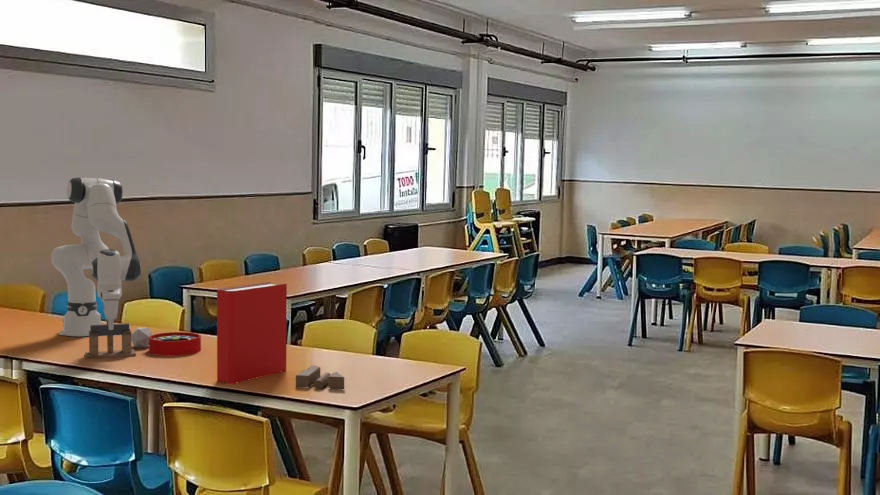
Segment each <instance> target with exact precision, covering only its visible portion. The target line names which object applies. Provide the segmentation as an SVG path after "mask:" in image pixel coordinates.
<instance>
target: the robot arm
mask: <svg viewBox="0 0 880 495" xmlns="http://www.w3.org/2000/svg"><path fill="white" fill-rule="evenodd" d="M123 189H124V188H123V186H122V183H121V182H120V181H118V180H115V179H111V180H110V179H106V178H100V177H73V178H70V180H69V181H68V183H67V187H66V195H67V198H68V200H69V201H71V202H72V203H74V205H73V212H72V219H71V231H72V233H73V234H74V235H75V236H77V237H79V238H80V243H77V244H66V245H60V246H57V247H54V249H52V252H51V254H50V262H51V265H52V266H53V267H54V268H55V269H56V270H57V271H59V273H61V274H62V276H63V277H64V279H65V282H66V285H67V286H66V287H67V299H68V301H66V302H67V303H66V308H67V312H66V313H65V314H64V315H63V317H62V327H63V328H62V329H61V330H60V331H59V333H58V335H59V336H68V337H89V331H90V325H102V323H101V321H102V320H101V316H102V315H101V313H99V312H98V311H97V309H98V304H97V299H96V296H97V298H99V299H100V301H101V302H102V306H103V307H102V310H103V314H104V316H105V319H106V324H108V329H109V330H113V329H114V324H115V320H116V319H117V318H118V313H119V312H118V311H119V300H120V299H121V297H122V295H123V292H122V291H123V290H122V288H123V287H122V284H123V283H122V281H125V282H126V281H127V282H134V281H136V280H137V279H139V277H140V276H141V275H142V264H141V261H140V259H139V256H138V253H137V251H136V248H135V243H134V241H133V240H134V239H133V237H132V233H131V231H130V228H129V224H128V223H127V221H126V220H125V219H123V218H122V217H121V216H120V214H119V212H118V210H117V205H118V204H119V203H121V201H122V199H123V196H124V190H123ZM100 232H103V233H106V234H108V235H112V236H114V237H116V238H118V239H119V240H120V242H121V246H122V249H123V251H124V252H123V253H124V255H122V256H121V254H120V252H119V251H118V250H116V249H112V248H111V249H110V248H109V247H108V246H107V244H105V243H104V242H103V241H102V239H101V235H100ZM84 270H91V277H92V278H94V279H95V280H97V283H96V284H97V287H96V284H95V282H94V281H93V280H92V279H90V278H88V277H86V275H85V272H84ZM96 288H97V292H96ZM96 293H97V295H96Z"/></svg>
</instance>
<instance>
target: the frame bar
mask: <svg viewBox="0 0 880 495" xmlns="http://www.w3.org/2000/svg"><path fill="white" fill-rule="evenodd" d="M129 329H130V324H129V322H126V323H125V322H124V323H123V322H122V323H114V329H113V330H109V329H108V324H107V323H104V324H103V323H101V325H90V333H98V337H107V336H110V335H113V336H122V335H123V331H129Z"/></svg>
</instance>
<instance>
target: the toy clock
mask: <svg viewBox="0 0 880 495" xmlns="http://www.w3.org/2000/svg"><path fill="white" fill-rule="evenodd" d="M201 350H202V335H201V334H199V333H195V332H189V331H187V332H186V331H185V332H183V331H173V332H172V331H171V332H169V331H168V332H160V333H156V334H152V336H150V337H149V345H148V352H149V354H152V355H155V354H156V356H166V355H175V356H186V354H187V355H193V354H196V353H198V352H201Z"/></svg>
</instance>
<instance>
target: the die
mask: <svg viewBox="0 0 880 495" xmlns="http://www.w3.org/2000/svg"><path fill="white" fill-rule="evenodd" d="M152 335H153V334H152V331H151V329H150V327H141V326H138V327H136V328H135V329H134V330H133V331H131V344H132V345H133V347H134V348H145V349H146V348H147V347H149V337H150V336H152Z"/></svg>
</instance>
